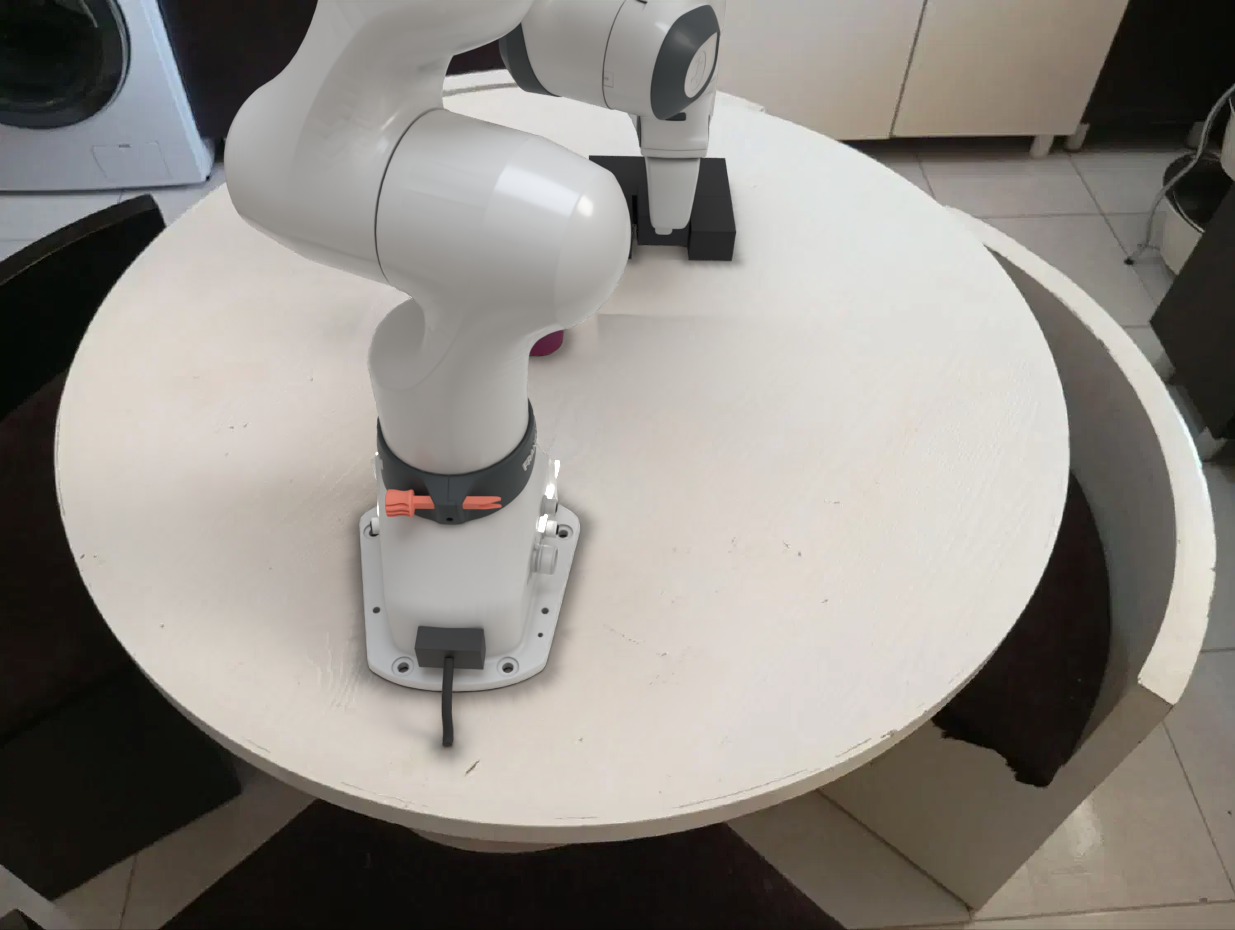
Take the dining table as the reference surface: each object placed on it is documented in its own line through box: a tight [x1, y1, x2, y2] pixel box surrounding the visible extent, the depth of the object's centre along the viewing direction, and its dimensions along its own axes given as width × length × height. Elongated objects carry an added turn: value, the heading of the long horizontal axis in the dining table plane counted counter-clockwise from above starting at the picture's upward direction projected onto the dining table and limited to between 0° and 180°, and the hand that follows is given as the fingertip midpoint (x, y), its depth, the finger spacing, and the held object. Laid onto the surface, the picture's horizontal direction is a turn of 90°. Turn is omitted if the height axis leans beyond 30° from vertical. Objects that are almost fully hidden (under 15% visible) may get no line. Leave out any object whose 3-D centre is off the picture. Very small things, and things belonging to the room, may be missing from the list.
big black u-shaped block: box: [588, 154, 737, 262], centre depth 113 cm, size 14×16×4 cm
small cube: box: [635, 185, 690, 247], centre depth 109 cm, size 6×6×4 cm
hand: (661, 211), depth 109 cm, fingers closed on small cube, 5 cm apart
